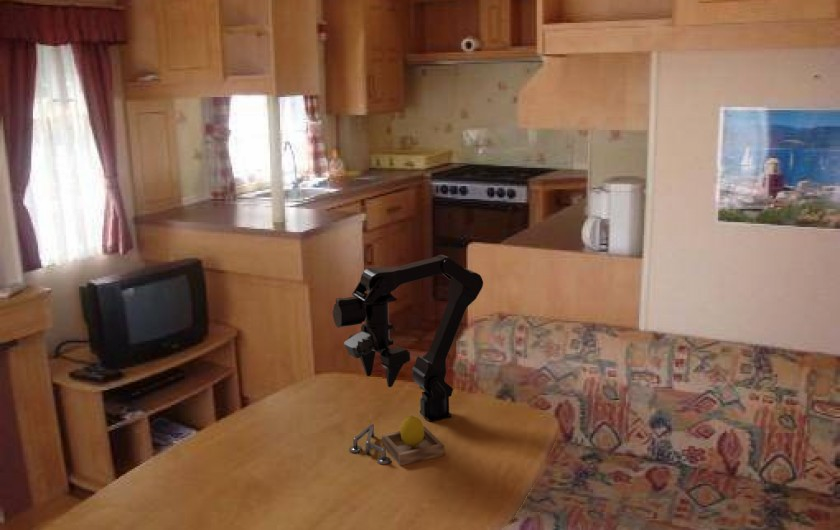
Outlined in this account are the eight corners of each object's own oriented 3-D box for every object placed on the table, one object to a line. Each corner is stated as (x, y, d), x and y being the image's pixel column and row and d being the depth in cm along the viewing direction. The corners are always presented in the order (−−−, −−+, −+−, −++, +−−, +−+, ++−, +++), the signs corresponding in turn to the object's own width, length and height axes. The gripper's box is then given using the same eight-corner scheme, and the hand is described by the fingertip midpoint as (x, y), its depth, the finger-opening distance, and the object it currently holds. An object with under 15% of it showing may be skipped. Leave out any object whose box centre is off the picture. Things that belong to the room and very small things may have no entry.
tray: (424, 435, 191) (424, 425, 190) (444, 455, 181) (443, 444, 180) (382, 445, 186) (381, 435, 186) (400, 465, 177) (399, 455, 176)
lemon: (402, 441, 187) (401, 410, 185) (425, 442, 186) (425, 411, 184) (399, 452, 181) (398, 420, 179) (423, 453, 181) (422, 421, 179)
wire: (373, 434, 192) (372, 423, 191) (396, 461, 178) (396, 449, 178) (342, 441, 189) (341, 430, 188) (363, 469, 175) (363, 457, 175)
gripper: (328, 318, 191) (331, 378, 195) (371, 337, 177) (373, 402, 180) (366, 309, 198) (368, 367, 201) (410, 327, 183) (412, 389, 187)
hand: (379, 381), depth 192 cm, fingers open, 9 cm apart
